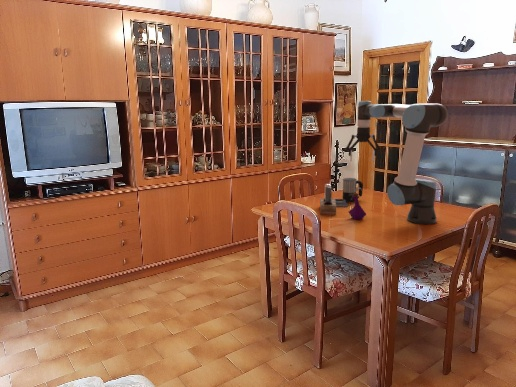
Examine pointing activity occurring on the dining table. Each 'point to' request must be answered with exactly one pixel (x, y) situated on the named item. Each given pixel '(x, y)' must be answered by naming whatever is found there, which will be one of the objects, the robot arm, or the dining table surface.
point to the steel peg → (327, 185)
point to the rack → (327, 207)
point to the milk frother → (351, 188)
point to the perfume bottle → (357, 208)
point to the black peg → (328, 195)
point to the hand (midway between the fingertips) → (362, 161)
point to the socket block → (341, 203)
